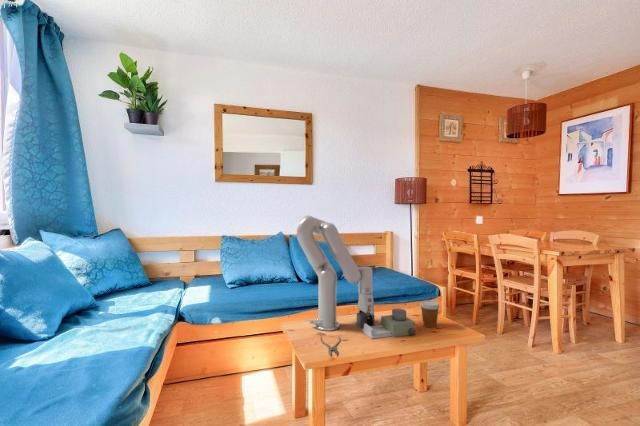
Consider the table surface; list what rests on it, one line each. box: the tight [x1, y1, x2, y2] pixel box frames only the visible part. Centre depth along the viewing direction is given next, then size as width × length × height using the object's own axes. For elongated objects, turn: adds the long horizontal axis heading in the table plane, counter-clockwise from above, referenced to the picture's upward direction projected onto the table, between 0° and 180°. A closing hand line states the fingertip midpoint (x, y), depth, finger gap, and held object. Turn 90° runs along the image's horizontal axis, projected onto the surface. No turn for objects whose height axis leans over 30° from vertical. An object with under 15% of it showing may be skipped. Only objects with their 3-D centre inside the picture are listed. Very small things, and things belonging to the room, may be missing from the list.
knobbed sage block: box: [362, 308, 416, 340], centre depth 149 cm, size 23×14×10 cm, turn 107°
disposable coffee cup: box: [420, 300, 440, 329], centre depth 158 cm, size 10×10×12 cm
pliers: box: [320, 336, 341, 357], centre depth 135 cm, size 10×1×20 cm
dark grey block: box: [356, 312, 375, 329], centre depth 159 cm, size 8×5×6 cm, turn 107°
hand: (365, 322), depth 159 cm, fingers open, 9 cm apart
